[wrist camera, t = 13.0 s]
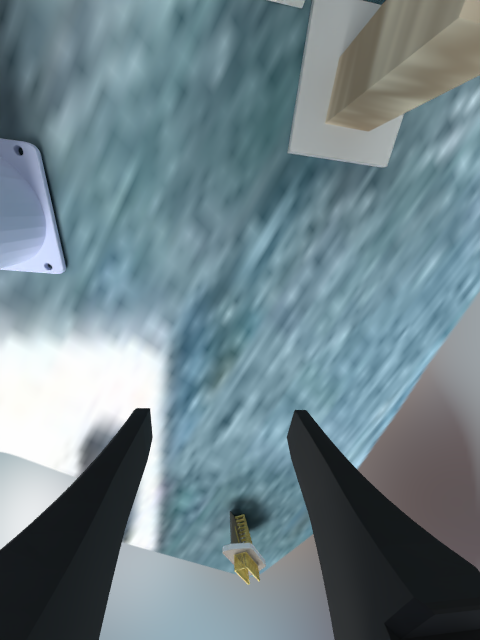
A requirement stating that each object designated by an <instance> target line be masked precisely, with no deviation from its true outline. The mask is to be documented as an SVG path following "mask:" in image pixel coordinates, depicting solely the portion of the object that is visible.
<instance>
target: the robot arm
mask: <svg viewBox="0 0 480 640" xmlns="http://www.w3.org/2000/svg"><path fill="white" fill-rule="evenodd" d="M20 147H21V148H22V149H23V155H22V156H21V155H20V153H19V148H20ZM48 263H49V264H50V265H51V266H52V269H51V268H49V266H48ZM0 269H1V270H14V271H27V272H40V273H53V274H61V273H63V272H65V270H66V265H65V261H64V256H63V252H62V247H61V243H60V238H59V234H58V229H57V225H56V220H55V216H54V211H53V207H52V202H51V198H50V194H49V189H48V185H47V180H46V176H45V171H44V167H43V162H42V158H41V154H40V151H39V149H38V148H37V147H36V146H35V145H33V144H31V143H28V142H23V141H16V140H9V139H2V138H0ZM287 440H288V445H289V450H290V455H291V459H292V463H293V466H294V469H295V472H296V475H297V479H298V482H299V485H300V488H301V491H302V494H303V497H304V501H305V504H306V507H307V510H308V514H309V517H310V521H311V525H312V529H313V534H314V538H315V542H316V547H317V551H318V556H319V560H320V565H321V570H322V574H323V579H324V585H325V590H326V594H327V600H328V605H329V610H330V616H331V621H332V627H333V633H334V639H335V640H480V572H479V571H478V569H477V568H476V567H475V566H473V565H472V564H470V563H469V562H468V561H466V560H465V559H464V558H462V557H461V556H459V555H458V554H457V553H455V552H454V551H452V550H451V549H449V548H448V547H447V546H445V545H444V544H443V543H441V542H440V541H438V540H437V539H436V538H435V537H433V536H432V535H431V534H430V533H428V532H427V531H426V530H424V529H423V528H422V527H421V526H419V525H418V524H417V523H415V522H414V521H413V520H412V519H411V518H409V517H408V516H407V515H406V514H405V513H403V512H402V511H401V510H400V509H399V508H398V507H396V506H395V505H394V504H393V503H392V502H391V501H389V500H388V499H387V498H386V497H385V496H384V495H383V494H382V493H381V492H379V491H378V490H377V489H376V488H375V487H374V486H373V485H372V484H371V483H370V482H369V481H368V480H367V479H366V478H365V477H363V475H362V474H361V473H360V472H359V471H358V470H357V469H356V468H355V467H354V466H353V465H352V464H351V463H350V462H349V461H348V460H347V458H346V457H345V456H344V455H343V454H342V453H341V452H340V451H339V449H338V448H337V447H336V446H335V445H334V444H333V442H332V441H331V440H330V439H329V438H328V437H327V435H326V434H325V433H324V432H323V430H322V429H321V428H320V427H319V426H318V424H317V423H316V422H315V421H314V419H313V418H312V417H311V416H310V414H309V413H308V412H307V411H306V410H295V411H294V414H293V418H292V421H291V425H290V428H289V432H288V435H287ZM151 442H152V426H151V415H150V408H136V409H135V410H134V411H133V413H132V414H131V416H130V417H129V418H128V420H127V421H126V422H125V424H124V425H123V426H122V427H121V429H120V430H119V431H118V433H117V434H116V435H115V436H114V438H113V439H112V440H111V441H110V442H109V444H108V445H107V446H106V447H105V448H104V450H103V451H102V452H101V453H100V454H99V455H98V457H97V458H96V459H95V460H94V461H93V462H92V463H91V464H90V465H89V467H88V468H87V469H86V470H85V471H84V472H83V473H82V474H81V475H80V476H79V477H78V478H77V480H76V481H75V482H74V483H73V484H72V485H71V486H70V487H69V488H68V489H67V490H66V491H65V492H64V493H63V494H62V495H61V496H60V497H59V498H58V499H57V500H56V501H55V502H53V503H52V504H51V505H50V506H49V507H48V508H47V509H46V510H45V511H44V512H43V513H42V514H41V515H40V516H39V517H37V518H36V519H35V520H34V521H33V522H32V523H31V524H30V525H29V526H28V527H26V528H25V529H24V530H23V531H22V532H21V533H20V534H18V535H17V536H16V537H15V538H14V539H13V540H11V541H10V542H9V543H8V544H7V545H6V546H4V547H3V548H2V549H1V550H0V640H99V636H100V631H101V627H102V623H103V618H104V614H105V610H106V605H107V601H108V596H109V592H110V588H111V584H112V580H113V575H114V571H115V567H116V563H117V559H118V555H119V550H120V547H121V543H122V539H123V535H124V531H125V527H126V524H127V521H128V517H129V514H130V511H131V508H132V505H133V502H134V499H135V496H136V493H137V490H138V487H139V484H140V481H141V478H142V475H143V472H144V469H145V466H146V463H147V460H148V455H149V451H150V447H151Z"/></svg>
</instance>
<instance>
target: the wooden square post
mask: <svg viewBox="0 0 480 640" xmlns="http://www.w3.org/2000/svg"><path fill="white" fill-rule="evenodd" d="M479 75H480V0H385V2H384V3H383V4H382V5H381V7H380V8H379V9H378V10H377V12H376V13H375V14H374V15H373V17H372V18H371V19H370V20H369V22H368V23H367V24H366V25H365V27H364V28H363V29H362V30H361V31H360V33H359V34H358V35H357V36H356V38H355V39H354V40H353V41H352V43H351V44H350V45H349V46H348V48H347V49H346V50H345V51H344V53H343V54H342V55H341V56H340V58H339V62H338V67H337V71H336V76H335V80H334V85H333V89H332V94H331V99H330V103H329V108H328V112H327V117H326V121H325V123H326V124H331V125H336V126H342V127H347V128H352V129H357V130H363V131H368V132H369V131H371V130H373V129H375V128H377V127H379V126H381V125H382V124H384V123H386V122H388V121H390V120H392V119H394V118H396V117H398V116H400V115H402V114H404V113H406V112H408V111H410V110H412V109H414V108H416V107H418V106H420V105H422V104H424V103H426V102H428V101H430V100H432V99H434V98H436V97H438V96H440V95H442V94H444V93H446V92H447V91H449V90H451V89H453V88H455V87H457V86H459V85H461V84H463V83H465V82H467V81H469V80H471V79H473V78H475V77H477V76H479Z"/></svg>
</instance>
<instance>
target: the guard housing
mask: <svg viewBox="0 0 480 640" xmlns="http://www.w3.org/2000/svg"><path fill="white" fill-rule="evenodd" d="M268 1H273V2H277V3H281V4H285V5H290V6H294V7H298V8H302V7H303V4H304V2H305V0H268Z"/></svg>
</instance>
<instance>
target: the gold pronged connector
mask: <svg viewBox="0 0 480 640" xmlns="http://www.w3.org/2000/svg"><path fill="white" fill-rule="evenodd" d="M242 517H243V519H239V518H242ZM238 519H239V520H238ZM242 521H244V522H243V523H239V522H242ZM242 525H244V526H243V527H242ZM244 529H245V530H244ZM230 532H231V544H229V545H225V546H223V554H224V555H225V556H226V557H227V558H228V559H229V560H230V561H231V562H232V563H233V564H234V567H235V570H234V571H235V572H236V573H237V574H238V575H239V576H240V577H241V578H242V579H243V580H244V581H245V582H246V583H247V584H248V585H249V584H250V582H248V581H249V576H250V575H254V577H255V578H256V579H257V580H258V581H260V579H259V571H260V570H261V569H263V568H264V567H265V566H266V564H265V560H264V558H263V557H262V556H261V555H260V553H259V552H258V551H257V549H256V548H255V547H254V546H253V544H252V541H251V537H250V533H249V530H248V526H247V522H246V518H245V515H244V514H242V515H239V516H236V517H234V515H233V514H232V513H231V512H230Z"/></svg>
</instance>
